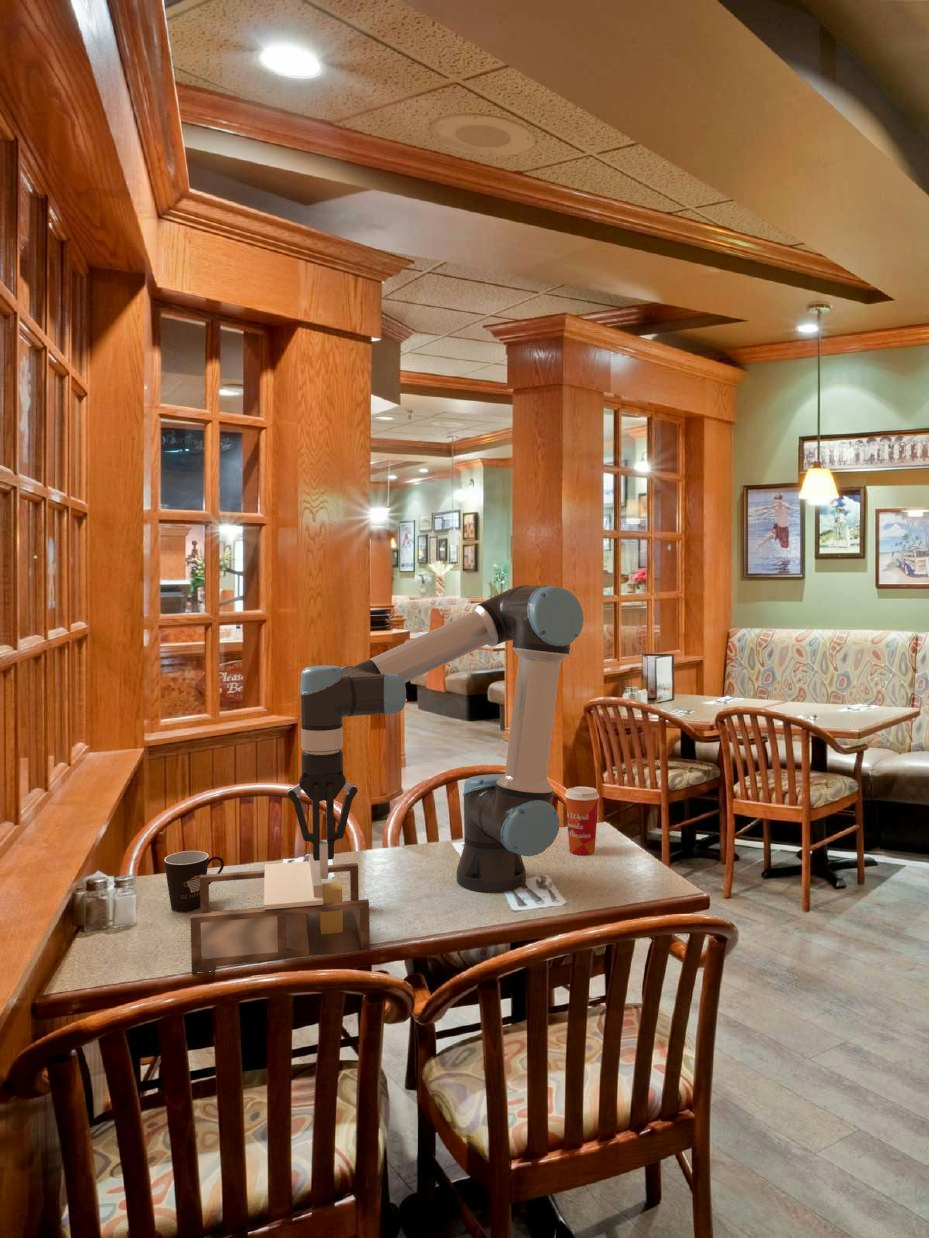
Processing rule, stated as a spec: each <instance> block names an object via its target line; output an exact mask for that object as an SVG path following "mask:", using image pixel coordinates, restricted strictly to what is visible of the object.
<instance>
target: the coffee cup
mask: <svg viewBox="0 0 929 1238" xmlns="http://www.w3.org/2000/svg"><path fill="white" fill-rule="evenodd" d="M565 792H566V793H564V797H565V800H566V815H567V817H566V818H567V819H566V820H567V831H568V832H567V834H568V835H567V837H568V847H569V848H568V849H569V852H570V854H572V855H575V856H582V857H585V856H591V855H594V854H595V850H596V839H597V837H596V836H597V821H598V819H597V818H598V807H599V806H598V803H599V802H598V801H599V799H600V794H599V793H598V789H597V788H595V787H589V786H574V787H569V788H567V789H566V791H565Z"/></svg>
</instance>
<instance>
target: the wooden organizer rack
mask: <svg viewBox="0 0 929 1238" xmlns="http://www.w3.org/2000/svg"><path fill="white" fill-rule="evenodd" d="M343 872H349V878H350V879H349V885H350V886H349V889H350V894H349V895H350V896H349V898H350V900H346V901H345V900H342V902H330V903H323V905H313V906H301V907H290V908H278V909H266V910H264V906H261V907H251V908H240V909H238V908H237V909H226V910H215V911H210V885H209V882H212V883H218V882H230V881H240V880H242V881H243V880H252V879H253V880H255V879H264V878H265V869H263V870H252V871H251V870H248V871H236V872H221V873H220V874H217V873H213V874H210V873H209V874H208V873H207V875H200V906H201V908H200V913H194V914H192V913H191V914H190V917H189V919H190V920H189V921H190V953H191V961H190V962H191V963H190V964H191V974H192V975H194V974H193V973H197V972H209V971H215V972H216V969H217V966H221V965H223V966H224V965H232V964H240V963H241V964H242V963H253V962H262V961H263V962H264V961H271V960H272V961H273V960H282V959H291V958H292V959H294V958H302V957H305V958H306V957H315V956H323V955H333V954H335V955H336V954H346V953H355V952H363V951H365V952H366V951H370V949H371V947H370V946H371V944H370V943H371V940H370V939H371V938H370V937H371V936H370V932H371V931H370V902H369V901H370V900H369V898H367V899H360V898H359V897H360V893H359V889H360V888H359V887H360V886H359V863H358V862H353V863H341V864H328V874H330V873H343ZM340 910H343V932H340V933H329V934H321V931H320V912H329V911H340ZM209 973H210V972H209Z"/></svg>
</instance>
